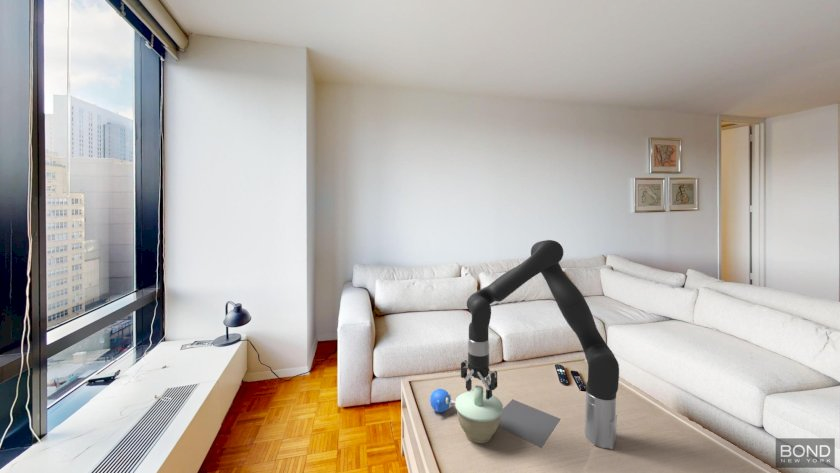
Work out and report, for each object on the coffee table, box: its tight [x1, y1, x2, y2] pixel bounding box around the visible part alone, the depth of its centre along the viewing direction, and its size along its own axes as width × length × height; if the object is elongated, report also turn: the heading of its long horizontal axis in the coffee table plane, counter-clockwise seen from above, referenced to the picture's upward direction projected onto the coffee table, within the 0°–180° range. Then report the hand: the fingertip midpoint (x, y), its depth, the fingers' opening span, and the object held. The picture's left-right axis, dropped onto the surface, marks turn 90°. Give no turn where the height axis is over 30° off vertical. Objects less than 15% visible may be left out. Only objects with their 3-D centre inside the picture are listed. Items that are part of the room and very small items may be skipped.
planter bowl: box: [456, 410, 500, 444], centre depth 115 cm, size 16×16×11 cm
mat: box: [498, 399, 561, 448], centre depth 123 cm, size 20×20×1 cm
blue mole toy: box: [429, 388, 456, 413], centre depth 130 cm, size 12×12×8 cm
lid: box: [454, 385, 504, 422], centre depth 115 cm, size 17×17×7 cm
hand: (478, 394), depth 115 cm, fingers open, 7 cm apart
